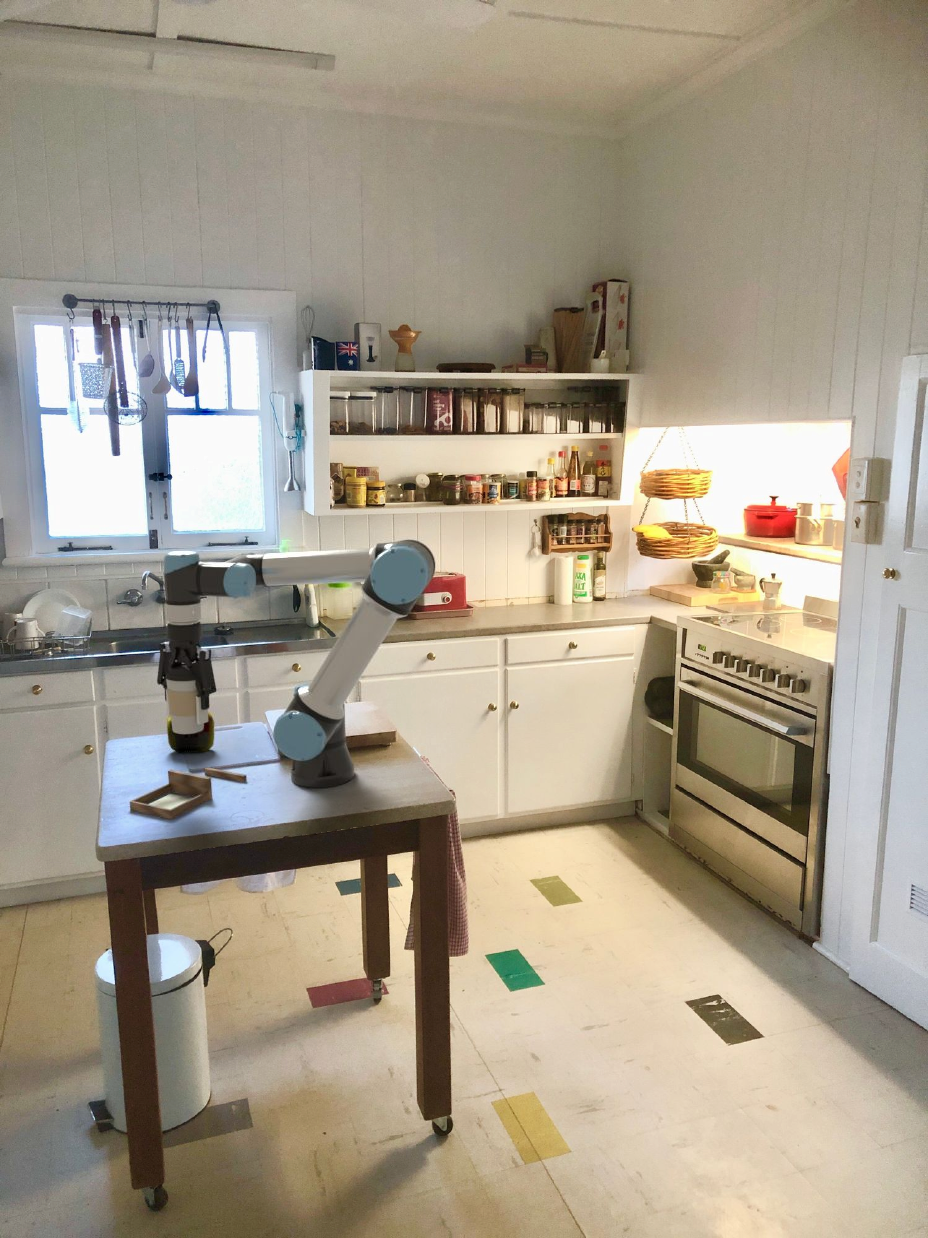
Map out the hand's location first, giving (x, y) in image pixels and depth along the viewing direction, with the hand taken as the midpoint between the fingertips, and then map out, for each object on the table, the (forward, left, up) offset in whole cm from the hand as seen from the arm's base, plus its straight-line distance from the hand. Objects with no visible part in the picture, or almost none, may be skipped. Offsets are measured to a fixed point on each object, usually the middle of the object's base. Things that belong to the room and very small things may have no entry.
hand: (187, 719), depth 215 cm
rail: (+1, -12, -18) cm, 22 cm away
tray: (+1, +6, -18) cm, 19 cm away
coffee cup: (0, 0, -3) cm, 3 cm away
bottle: (+21, -23, -18) cm, 37 cm away
